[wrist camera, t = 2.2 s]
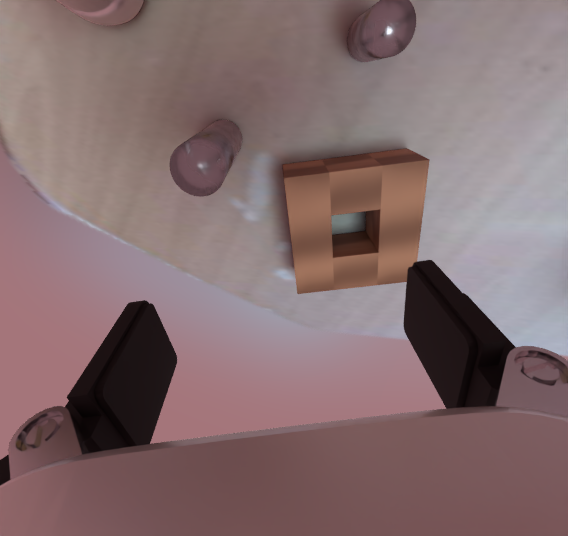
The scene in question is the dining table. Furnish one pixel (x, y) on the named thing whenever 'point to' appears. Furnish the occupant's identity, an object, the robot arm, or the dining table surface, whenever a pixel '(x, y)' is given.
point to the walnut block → (349, 199)
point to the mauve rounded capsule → (382, 30)
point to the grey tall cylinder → (206, 158)
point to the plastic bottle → (104, 10)
